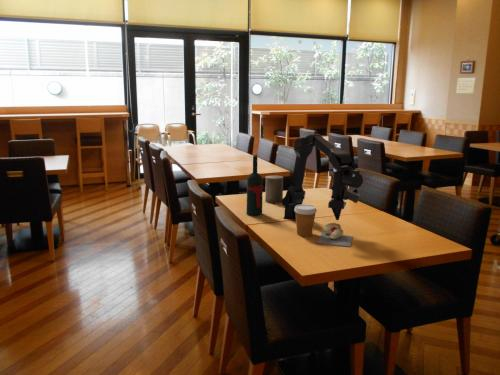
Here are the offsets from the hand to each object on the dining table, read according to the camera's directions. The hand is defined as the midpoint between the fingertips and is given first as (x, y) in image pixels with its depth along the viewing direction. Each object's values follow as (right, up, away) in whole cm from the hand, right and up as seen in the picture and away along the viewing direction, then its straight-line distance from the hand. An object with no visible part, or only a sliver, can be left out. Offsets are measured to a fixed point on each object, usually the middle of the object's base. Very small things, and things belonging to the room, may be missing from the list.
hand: (337, 219), depth 184 cm
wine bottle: (-34, 0, +33) cm, 48 cm away
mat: (-1, -8, -2) cm, 8 cm away
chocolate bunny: (-1, -3, +4) cm, 6 cm away
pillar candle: (-23, +6, +60) cm, 65 cm away
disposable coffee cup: (-13, -7, +5) cm, 16 cm away
